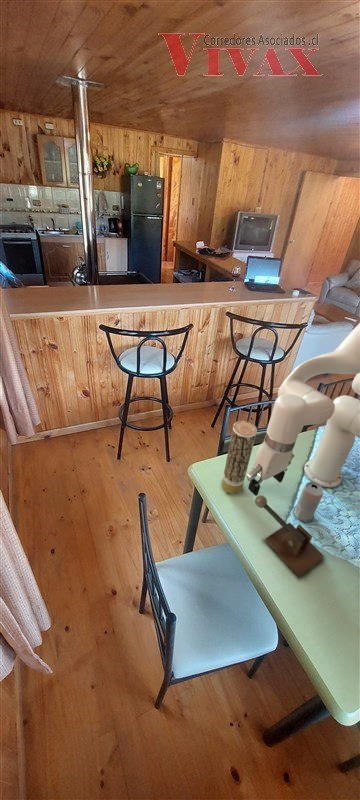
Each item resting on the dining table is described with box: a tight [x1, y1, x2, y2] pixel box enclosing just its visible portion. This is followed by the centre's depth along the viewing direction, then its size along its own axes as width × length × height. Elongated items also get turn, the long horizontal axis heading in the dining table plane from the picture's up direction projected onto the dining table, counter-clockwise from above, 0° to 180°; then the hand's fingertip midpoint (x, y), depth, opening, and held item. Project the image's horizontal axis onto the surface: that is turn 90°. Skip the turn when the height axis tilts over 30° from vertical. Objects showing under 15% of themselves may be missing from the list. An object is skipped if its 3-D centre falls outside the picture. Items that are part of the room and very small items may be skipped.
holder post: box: [254, 494, 306, 544], centre depth 93 cm, size 17×4×4 cm, turn 33°
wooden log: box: [221, 420, 258, 495], centre depth 102 cm, size 7×7×25 cm
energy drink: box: [294, 481, 324, 523], centre depth 98 cm, size 5×5×12 cm
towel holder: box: [264, 522, 325, 579], centre depth 89 cm, size 12×10×7 cm
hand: (265, 485), depth 93 cm, fingers open, 9 cm apart
